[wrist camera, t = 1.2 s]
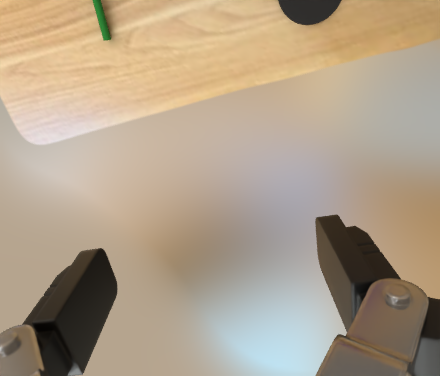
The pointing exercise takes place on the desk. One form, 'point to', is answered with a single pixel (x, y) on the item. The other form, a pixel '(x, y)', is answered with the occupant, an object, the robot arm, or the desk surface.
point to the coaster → (308, 10)
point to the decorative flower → (101, 19)
